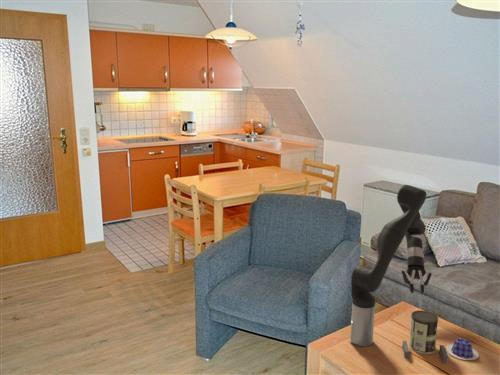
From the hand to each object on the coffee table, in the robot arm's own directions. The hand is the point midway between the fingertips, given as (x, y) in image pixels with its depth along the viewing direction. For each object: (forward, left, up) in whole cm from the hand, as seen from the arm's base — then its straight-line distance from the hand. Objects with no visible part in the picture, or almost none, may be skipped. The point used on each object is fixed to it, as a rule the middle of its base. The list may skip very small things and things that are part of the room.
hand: (417, 293), depth 202 cm
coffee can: (0, -21, -15) cm, 26 cm away
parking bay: (0, -27, -14) cm, 31 cm away
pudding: (+16, -22, -15) cm, 30 cm away
